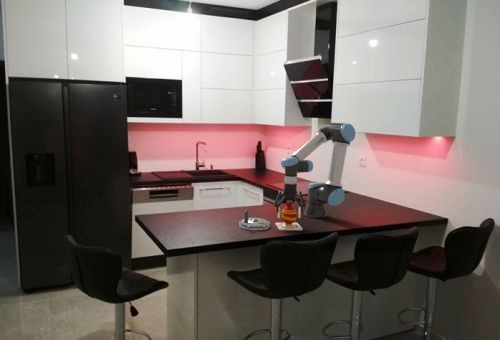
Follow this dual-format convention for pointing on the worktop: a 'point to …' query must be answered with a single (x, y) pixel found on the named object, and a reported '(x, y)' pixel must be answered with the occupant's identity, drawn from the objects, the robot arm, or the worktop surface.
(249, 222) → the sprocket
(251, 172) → the worktop surface
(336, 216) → the worktop surface
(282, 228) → the seat
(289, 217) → the potion bottle
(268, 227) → the sprocket base
